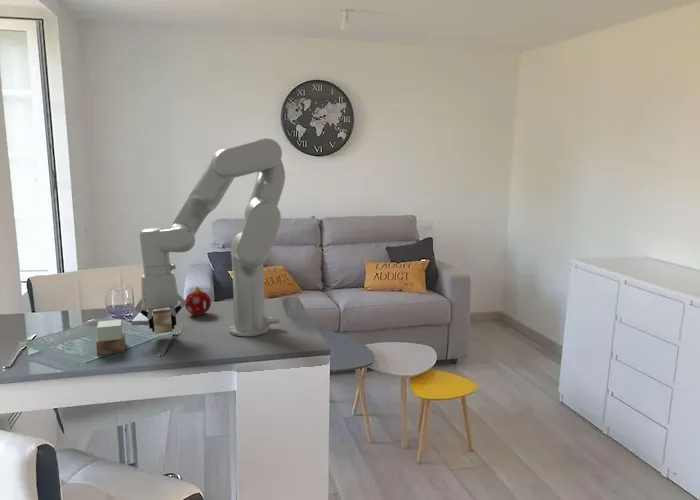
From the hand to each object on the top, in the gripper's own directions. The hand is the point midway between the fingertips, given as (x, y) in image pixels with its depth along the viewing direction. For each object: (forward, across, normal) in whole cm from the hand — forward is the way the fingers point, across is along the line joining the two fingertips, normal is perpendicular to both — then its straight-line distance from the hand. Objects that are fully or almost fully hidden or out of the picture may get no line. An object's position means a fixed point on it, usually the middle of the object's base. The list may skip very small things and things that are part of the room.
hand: (163, 328), depth 163 cm
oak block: (+1, 0, 0) cm, 1 cm away
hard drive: (+4, +5, -24) cm, 25 cm away
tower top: (-1, +14, +5) cm, 15 cm away
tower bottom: (+3, +14, +5) cm, 15 cm away
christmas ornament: (+4, -12, -23) cm, 26 cm away
